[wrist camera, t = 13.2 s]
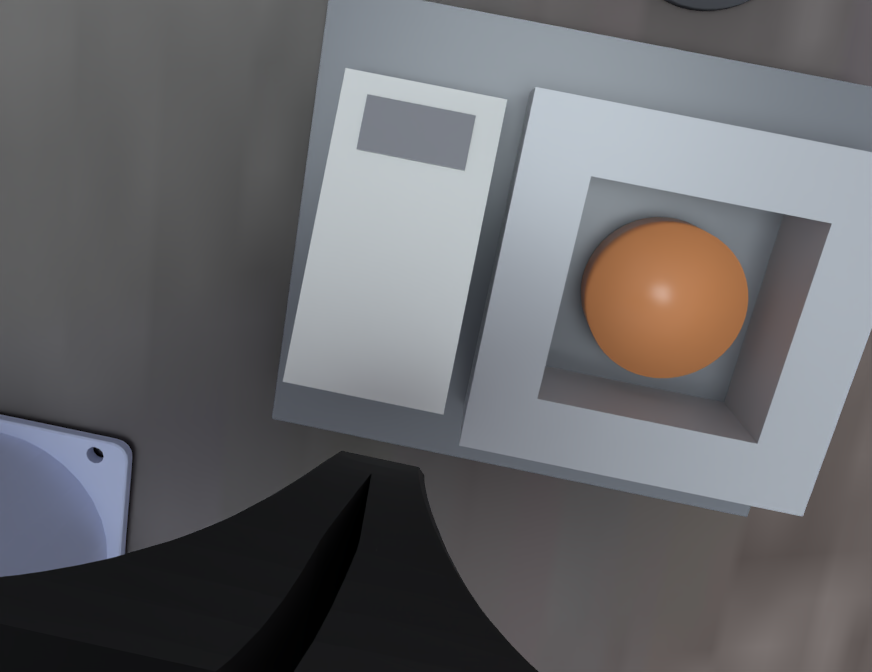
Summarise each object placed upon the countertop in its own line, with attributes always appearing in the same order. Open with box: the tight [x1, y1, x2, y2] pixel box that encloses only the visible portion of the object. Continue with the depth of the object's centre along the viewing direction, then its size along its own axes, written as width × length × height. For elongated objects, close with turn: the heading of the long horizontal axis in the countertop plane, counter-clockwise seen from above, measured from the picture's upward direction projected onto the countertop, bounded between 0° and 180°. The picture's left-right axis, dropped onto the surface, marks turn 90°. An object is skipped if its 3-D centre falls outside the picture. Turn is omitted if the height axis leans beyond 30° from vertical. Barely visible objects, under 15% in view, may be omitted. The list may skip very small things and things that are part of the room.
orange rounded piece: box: [581, 217, 748, 378], centre depth 18 cm, size 4×4×1 cm
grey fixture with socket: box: [272, 0, 872, 517], centre depth 19 cm, size 13×11×5 cm
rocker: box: [283, 68, 507, 414], centre depth 17 cm, size 4×7×1 cm, turn 169°
